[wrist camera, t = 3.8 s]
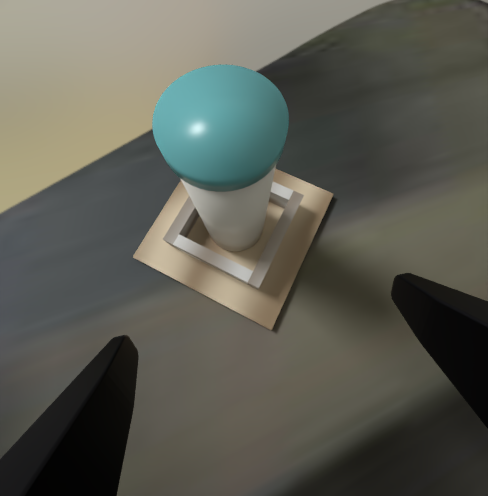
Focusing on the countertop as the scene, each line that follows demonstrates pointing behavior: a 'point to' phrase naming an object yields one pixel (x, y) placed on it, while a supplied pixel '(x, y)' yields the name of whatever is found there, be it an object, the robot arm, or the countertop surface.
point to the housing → (242, 262)
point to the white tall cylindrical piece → (224, 147)
